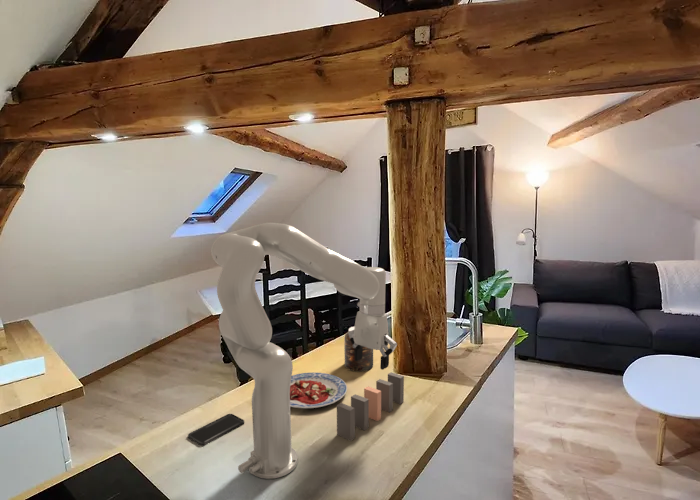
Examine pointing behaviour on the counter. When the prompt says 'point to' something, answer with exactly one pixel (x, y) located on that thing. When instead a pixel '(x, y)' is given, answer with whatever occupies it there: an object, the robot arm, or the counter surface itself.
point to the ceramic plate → (315, 390)
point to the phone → (215, 429)
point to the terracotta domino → (373, 402)
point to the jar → (350, 362)
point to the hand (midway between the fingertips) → (371, 363)
